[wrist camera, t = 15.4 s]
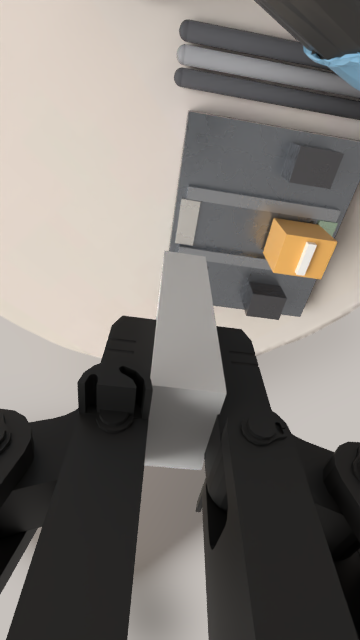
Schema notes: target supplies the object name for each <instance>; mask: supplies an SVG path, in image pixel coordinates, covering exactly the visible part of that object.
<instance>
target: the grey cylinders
mask: <svg viewBox="0 0 360 640" xmlns="http://www.w3.org/2000/svg"><path fill="white" fill-rule="evenodd" d="M179 33H180V36H181V38H182V39H183V40H184V41H186V42H191V43H196V44H201V45H206V46H211V47H216V48H221V49H226V50H231V51H237V52H242V53H247V54H252V55H257V56H262V57H267V58H272V59H277V60H282V61H287V62H292V63H297V64H303V65H308V66H313V67H318V68H323V69H328V70H331V69H330V68H329V67H327V66H325V65H322V64H319V63H316V62H314V61H313V60H311V59H310V58H309V57H308V56H307V55H306V54H305V53H304V50H303V45H302V44H301V43H300V42H296V41H292V40H287V39H282V38H277V37H272V36H267V35H262V34H257V33H252V32H247V31H242V30H237V29H232V28H227V27H223V26H218V25H213V24H208V23H203V22H198V21H193V20H184V21H183V22H182V23H181V25H180V29H179ZM177 59H178V61H179V63H180V64H182V65H187V66H192V67H197V68H202V69H208V70H213V71H218V72H223V73H229V74H234V75H239V76H244V77H250V78H255V79H260V80H265V81H270V82H276V83H281V84H286V85H291V86H297V87H302V88H307V89H312V90H318V91H323V92H328V93H333V94H339V95H344V96H349V97H354V98H359V99H360V91H359V90H357V89H355V88H354V87H352V86H351V85H349V84H348V83H347V82H346V81H345V80H343V79H342V78H341V77H340V76H338V75H337V74H334V73H329V72H324V71H318V70H313V69H308V68H303V67H298V66H293V65H288V64H283V63H278V62H273V61H268V60H262V59H257V58H252V57H247V56H242V55H237V54H232V53H227V52H222V51H217V50H212V49H206V48H201V47H196V46H191V45H186V44H184V45H181V46H180V47H179V48H178V50H177ZM174 80H175V83H176V84H177V85H178V86H180V87H184V88H190V89H195V90H201V91H206V92H211V93H217V94H222V95H228V96H233V97H238V98H244V99H249V100H255V101H260V102H265V103H271V104H276V105H282V106H287V107H292V108H298V109H303V110H309V111H314V112H319V113H325V114H330V115H336V116H341V117H346V118H352V119H357V120H360V101H356V100H350V99H345V98H340V97H335V96H329V95H324V94H319V93H313V92H308V91H303V90H298V89H292V88H287V87H282V86H277V85H271V84H266V83H261V82H256V81H250V80H245V79H240V78H235V77H229V76H224V75H219V74H214V73H208V72H203V71H198V70H193V69H187V68H179V69H177V70H176V72H175V75H174Z"/></svg>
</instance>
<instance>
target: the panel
mask: <svg viewBox="0 0 360 640" xmlns="http://www.w3.org/2000/svg"><path fill="white" fill-rule="evenodd" d="M359 181H360V141H356V140H351V139H345V138H340V137H334V136H329V135H323V134H317V133H312V132H306V131H301V130H295V129H290V128H284V127H278V126H273V125H267V124H262V123H256V122H251V121H245V120H239V119H234V118H228V117H223V116H217V115H212V114H206V113H200V112H195V111H189V110H188V116H187V123H186V131H185V138H184V145H183V153H182V160H181V167H180V174H179V182H178V189H177V196H176V203H175V211H174V218H173V225H172V232H171V240H170V247H169V251H170V252H177V253H184V254H191V255H198V256H205V257H206V262H207V269H208V275H209V282H210V288H211V295H212V301H213V306H221V307H229V308H236V309H244V310H245V313H246V316H253V317H261V318H268V319H276V320H279V318H280V315H281V314H282V315H290V316H298V317H300V316H301V314H302V311H303V309H304V307H305V304H306V302H307V300H308V298H309V295H310V293H311V291H312V288H313V286H314V284H315V282H316V279H314V278H307V277H300V276H293V275H286V274H279V273H273V271H272V269H271V268H270V266H269V264H268V262H267V260H266V258H265V256H264V254H263V251H264V248H265V244H266V241H267V238H268V235H269V232H270V229H271V225H272V222H273V219H274V218H278V219H285V220H291V221H298V222H304V223H311V224H317V225H320V226H321V227H322V228H323V229H324V230H325V231H326V232H327V233H328V234H329V235H331V236H332V237H333V238H335V236H336V234H337V231H338V229H339V227H340V224H341V222H342V220H343V218H344V215H345V213H346V211H347V208H348V206H349V204H350V202H351V199H352V197H353V195H354V193H355V190H356V188H357V186H358V183H359Z"/></svg>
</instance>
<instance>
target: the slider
mask: <svg viewBox="0 0 360 640" xmlns="http://www.w3.org/2000/svg"><path fill="white" fill-rule="evenodd" d="M336 244H337V241H336V240H335V239H334V238H333V237H332V236H331V235H329V234H328V233H327V232H326V231H325V230H324V229H323V228H322V227H321V226H320V225H317V224H311V223H304V222H298V221H291V220H285V219H278V218H274V219H273V222H272V225H271V229H270V232H269V235H268V238H267V241H266V244H265V248H264V251H263V254H264V256H265V258H266V260H267V262H268V264H269V266H270V268H271V269H272V271H273V273H279V274H286V275H293V276H300V277H307V278H314V279H321V278H322V276H323V273H324V271H325V269H326V267H327V264H328V262H329V260H330V258H331V256H332V253H333V251H334V249H335V247H336Z"/></svg>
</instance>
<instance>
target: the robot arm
mask: <svg viewBox="0 0 360 640" xmlns="http://www.w3.org/2000/svg"><path fill="white" fill-rule="evenodd" d="M254 1H255V2H256V3H258V4H259V5H260V6H261V7H262V8H263V9H264V10H265V11H266V12H267V13H268V14H269V15H271V16H272V17H273V18H274V19H275V20H276V21H277V22H278V23H279V24H280V25H281V26H282V27H284V28H285V29H286V30H287V31H288V32H289V33H290V34H291V35H292V36H293V37H294V38H295V39H297V40H298V41H299V42H300V43H301V44H302V45H303V50H304V53H305V54H306V55H307V56H308V57H309V58H310V59H311V60H313V61H314V62H316V63H319V64H322V65H325V66H327V67H329V68H330V69H331V70H332V71H334V72H335V73H336V74H337V75H338V76H340V77H341V78H342V79H343V80H345V81H346V82H347V83H348V84H349V85H351V86H352V87H354V88H355V89H357V90H359V91H360V0H254ZM78 402H79V408H78V409H77V410H75V411H73V412H71V413H69V414H67V415H65V416H61V417H57V418H53V419H48V420H42V421H36V422H30V423H29V422H28V421H27V419H26V417H25V416H23V415H21V414H19V413H18V412H16V411H13V410H5V409H0V594H1V592H2V590H3V589H4V587H5V585H6V583H7V582H8V580H9V578H10V576H11V575H12V572H13V571H14V569H15V567H16V566H17V564H18V562H19V560H20V559H21V557H22V555H23V553H24V552H25V550H26V548H27V546H28V545H29V543H30V541H31V539H32V538H33V536H34V534H35V532H36V530H37V529H38V528H39V527H42V530H41V533H40V536H39V539H38V542H37V545H36V548H35V551H34V554H33V557H32V561H31V564H30V567H29V570H28V573H27V576H26V580H25V583H24V585H23V589H22V592H21V595H20V598H19V601H18V604H17V607H16V610H15V613H14V617H13V620H12V623H11V626H10V629H9V632H8V635H7V638H6V640H127V635H128V624H129V614H130V605H131V594H132V584H133V574H134V564H135V553H136V543H137V533H138V523H139V512H140V503H141V492H142V482H143V471H144V465H146V466H158V467H169V468H181V469H192V470H201V468H202V465H203V462H204V459H205V471H206V479H205V482H204V484H203V487H202V490H201V493H200V495H199V498H198V501H197V507H196V512H200V511H201V509H202V512H203V531H204V552H205V573H206V593H207V613H208V633H209V640H360V443H359V442H347V443H344V444H342V445H340V446H339V447H338V448H337V450H336V451H335V452H332V451H329V450H327V449H324V448H321V447H319V446H316V445H313V444H311V443H309V442H306V441H304V440H302V439H300V438H298V437H296V436H294V435H293V434H291V432H290V430H289V428H288V426H287V424H286V423H285V422H284V421H283V420H282V419H281V418H280V417H279V416H278V415H277V414H276V413H274V412H273V411H272V410H271V407H270V404H269V400H268V397H267V394H266V390H265V386H264V383H263V379H262V376H261V373H260V369H259V367H258V362H257V359H256V356H255V352H254V348H253V345H252V341H251V340H250V339H249V338H248V336H247V335H246V334H245V333H244V332H243V331H242V329H234V328H226V327H218V326H216V321H215V314H214V308H213V301H212V295H211V288H210V282H209V275H208V269H207V262H206V257H205V256H198V255H191V254H184V253H177V252H170V251H165V252H164V260H163V267H162V275H161V283H160V291H159V298H158V306H157V314H156V320H153V319H145V318H137V317H129V316H122V317H121V318H119V319H118V320H117V321H116V322H115V323H114V324H113V325H112V327H111V331H110V334H109V337H108V340H107V344H106V347H105V351H104V354H103V357H102V360H101V363H100V364H97V365H94V366H93V367H91V368H90V369H88V370H87V371H85V372H84V373H83V375H82V377H81V378H80V379H79V381H78Z"/></svg>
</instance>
